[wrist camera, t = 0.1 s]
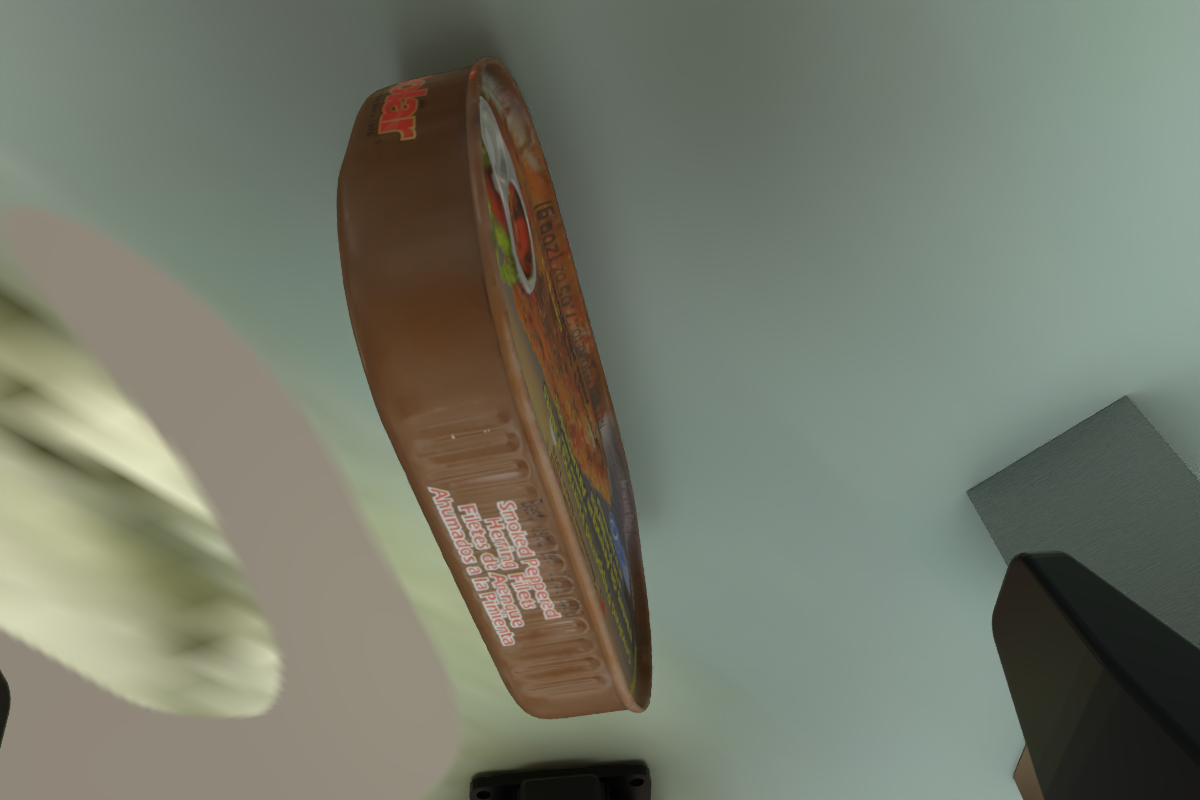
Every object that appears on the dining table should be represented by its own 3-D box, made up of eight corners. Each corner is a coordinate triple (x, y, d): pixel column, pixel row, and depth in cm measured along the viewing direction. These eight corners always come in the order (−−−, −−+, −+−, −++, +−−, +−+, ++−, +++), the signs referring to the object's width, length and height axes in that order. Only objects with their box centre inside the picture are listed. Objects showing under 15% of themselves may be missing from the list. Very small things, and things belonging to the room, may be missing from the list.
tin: (644, 522, 29) (687, 786, 22) (539, 544, 29) (550, 813, 22) (502, -5, 20) (502, 167, 13) (351, 33, 20) (272, 222, 13)
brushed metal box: (1191, 491, 29) (1543, 914, 20) (1032, 579, 31) (1279, 1007, 21) (1126, 395, 27) (1490, 822, 17) (957, 497, 29) (1196, 936, 19)
